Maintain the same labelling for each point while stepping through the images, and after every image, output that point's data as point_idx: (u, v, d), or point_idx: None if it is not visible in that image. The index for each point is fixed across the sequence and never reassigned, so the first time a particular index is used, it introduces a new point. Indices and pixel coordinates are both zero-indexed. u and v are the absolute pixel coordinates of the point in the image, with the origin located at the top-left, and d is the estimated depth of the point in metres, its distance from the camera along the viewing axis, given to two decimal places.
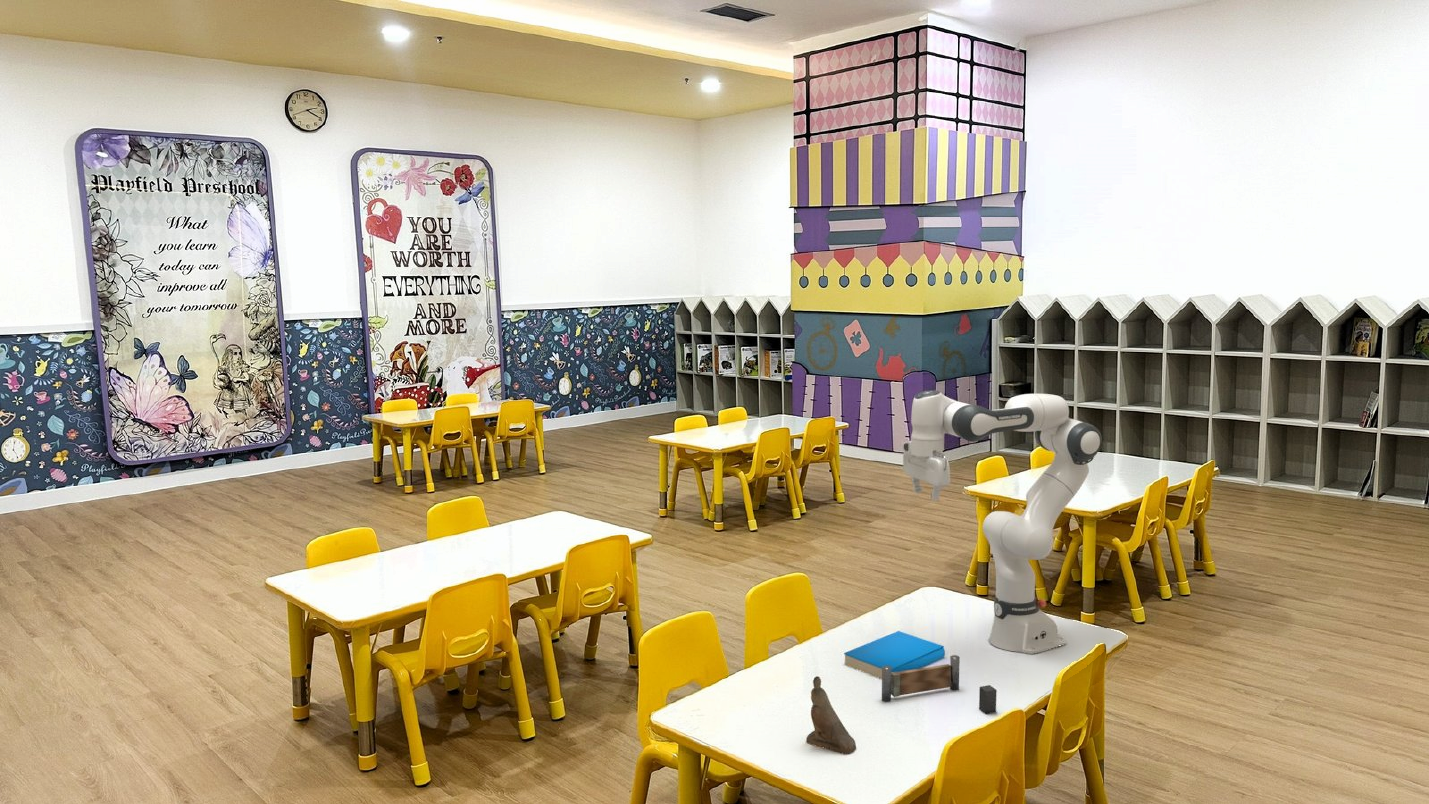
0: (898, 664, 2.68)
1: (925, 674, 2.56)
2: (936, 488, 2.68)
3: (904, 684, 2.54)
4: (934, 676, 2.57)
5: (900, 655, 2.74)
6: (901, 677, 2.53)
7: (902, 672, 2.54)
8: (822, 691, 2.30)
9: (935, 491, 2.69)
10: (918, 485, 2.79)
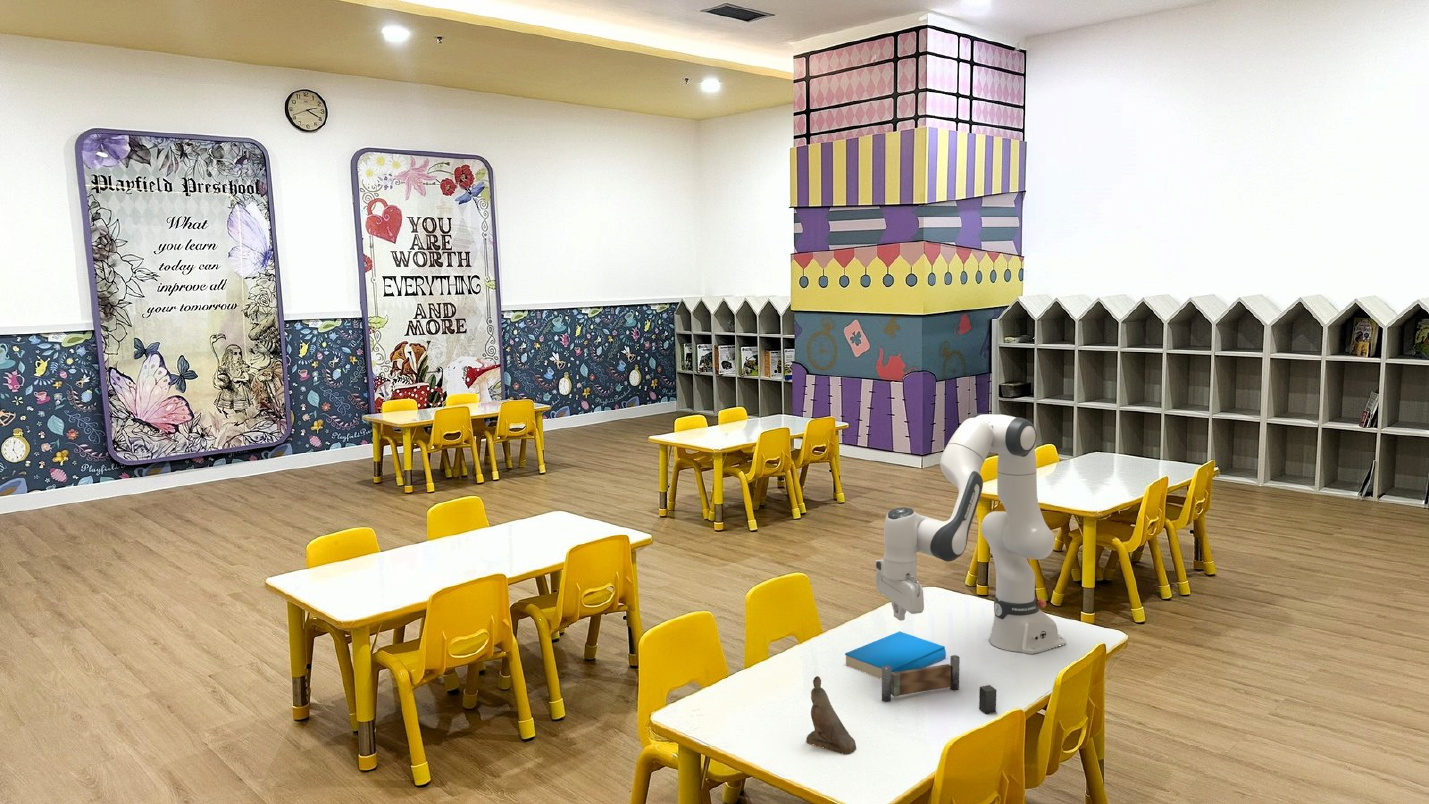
0: (899, 664, 2.67)
1: (925, 674, 2.56)
2: (901, 609, 2.57)
3: (904, 684, 2.54)
4: (934, 676, 2.57)
5: (901, 656, 2.73)
6: (901, 677, 2.53)
7: (902, 672, 2.54)
8: (822, 691, 2.30)
9: (901, 611, 2.57)
10: (898, 610, 2.60)
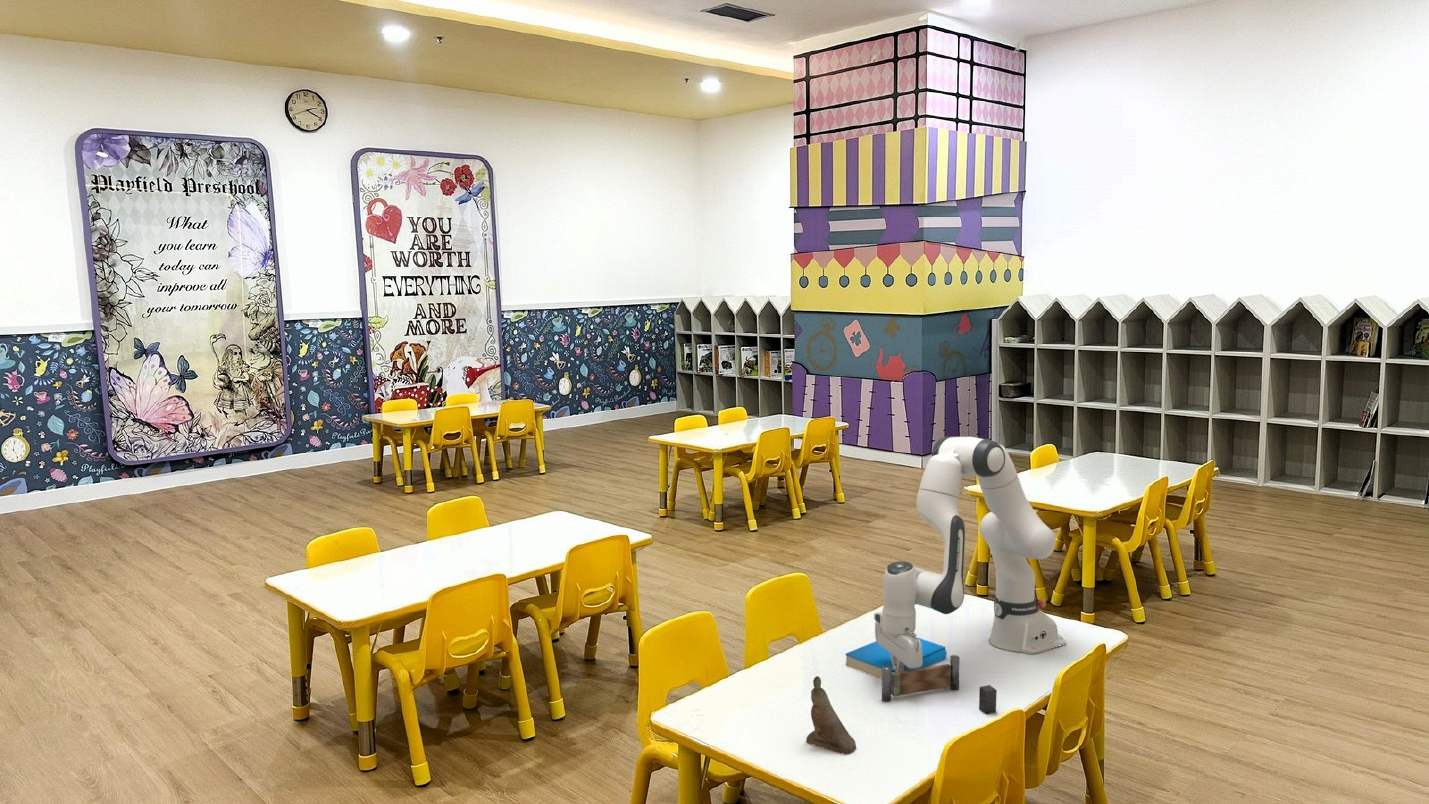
0: None
1: (925, 674, 2.56)
2: (900, 662, 2.59)
3: (904, 684, 2.54)
4: (934, 676, 2.57)
5: None
6: (901, 677, 2.53)
7: (902, 672, 2.54)
8: (822, 691, 2.30)
9: (900, 665, 2.59)
10: (897, 663, 2.63)
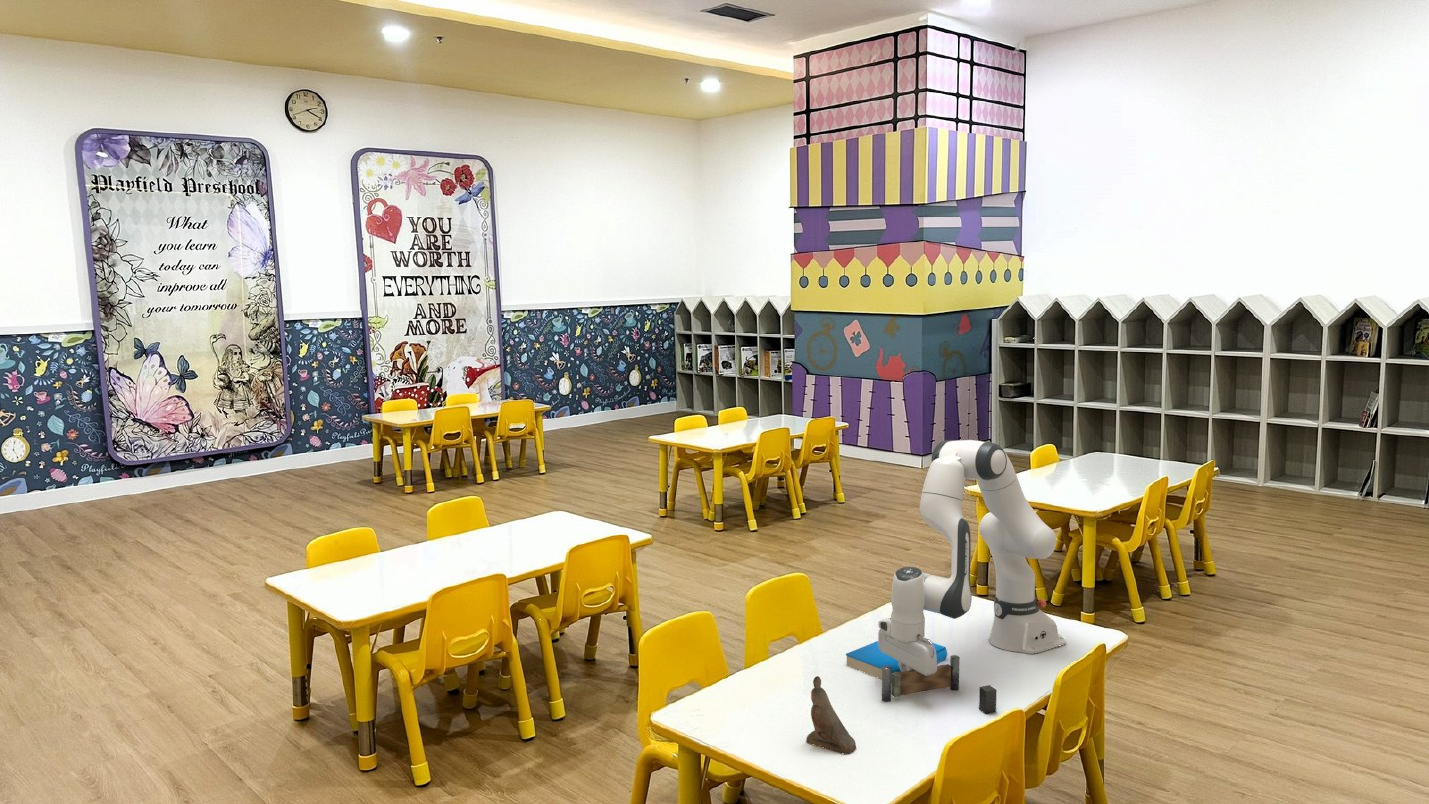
0: None
1: None
2: (910, 669, 2.55)
3: (905, 684, 2.54)
4: (934, 676, 2.56)
5: None
6: (902, 677, 2.53)
7: (903, 672, 2.54)
8: (822, 691, 2.30)
9: None
10: (906, 670, 2.58)
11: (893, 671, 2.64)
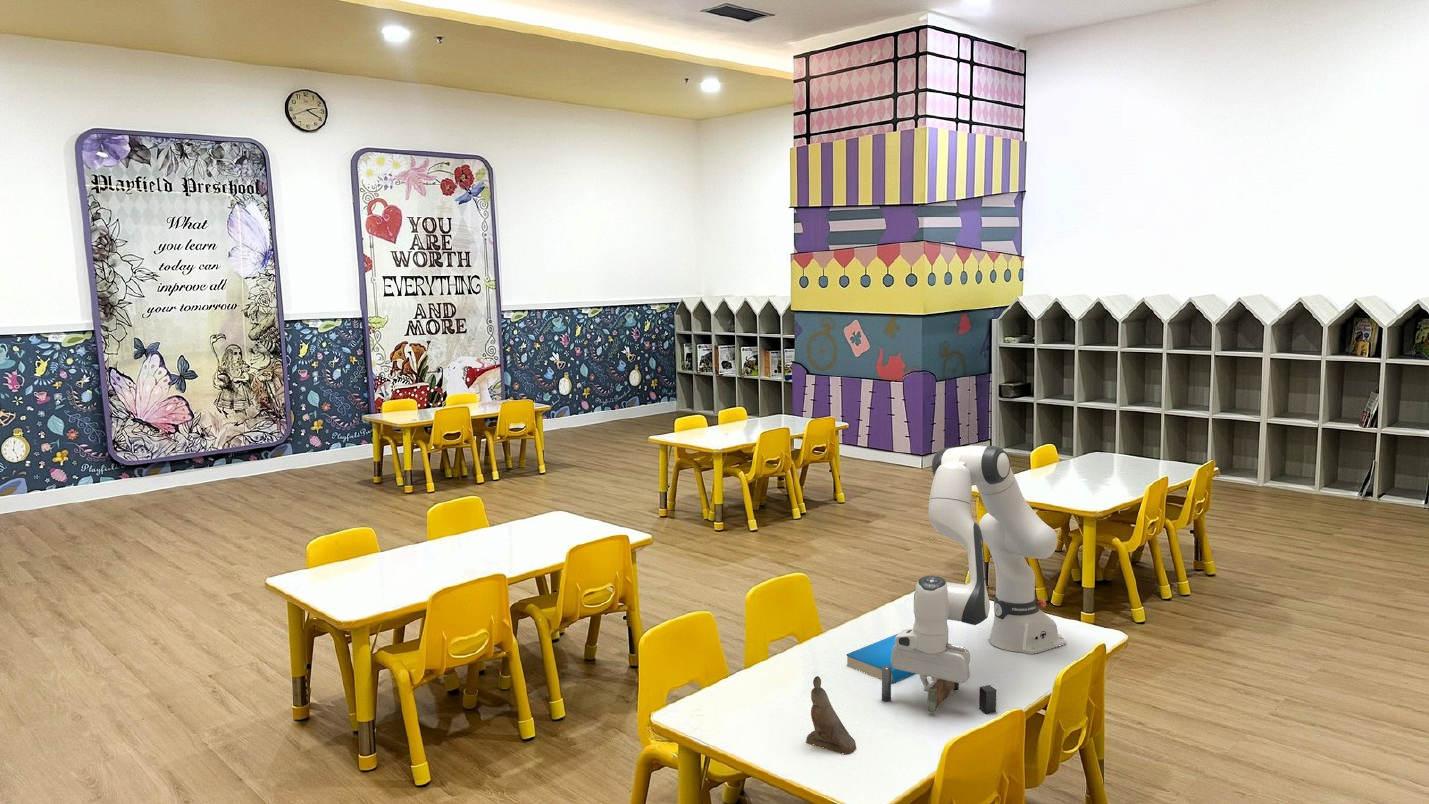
0: None
1: (945, 681, 2.51)
2: (936, 680, 2.48)
3: (937, 697, 2.46)
4: (949, 681, 2.53)
5: None
6: (936, 691, 2.45)
7: (935, 686, 2.45)
8: (822, 691, 2.30)
9: None
10: (927, 683, 2.50)
11: (894, 671, 2.64)
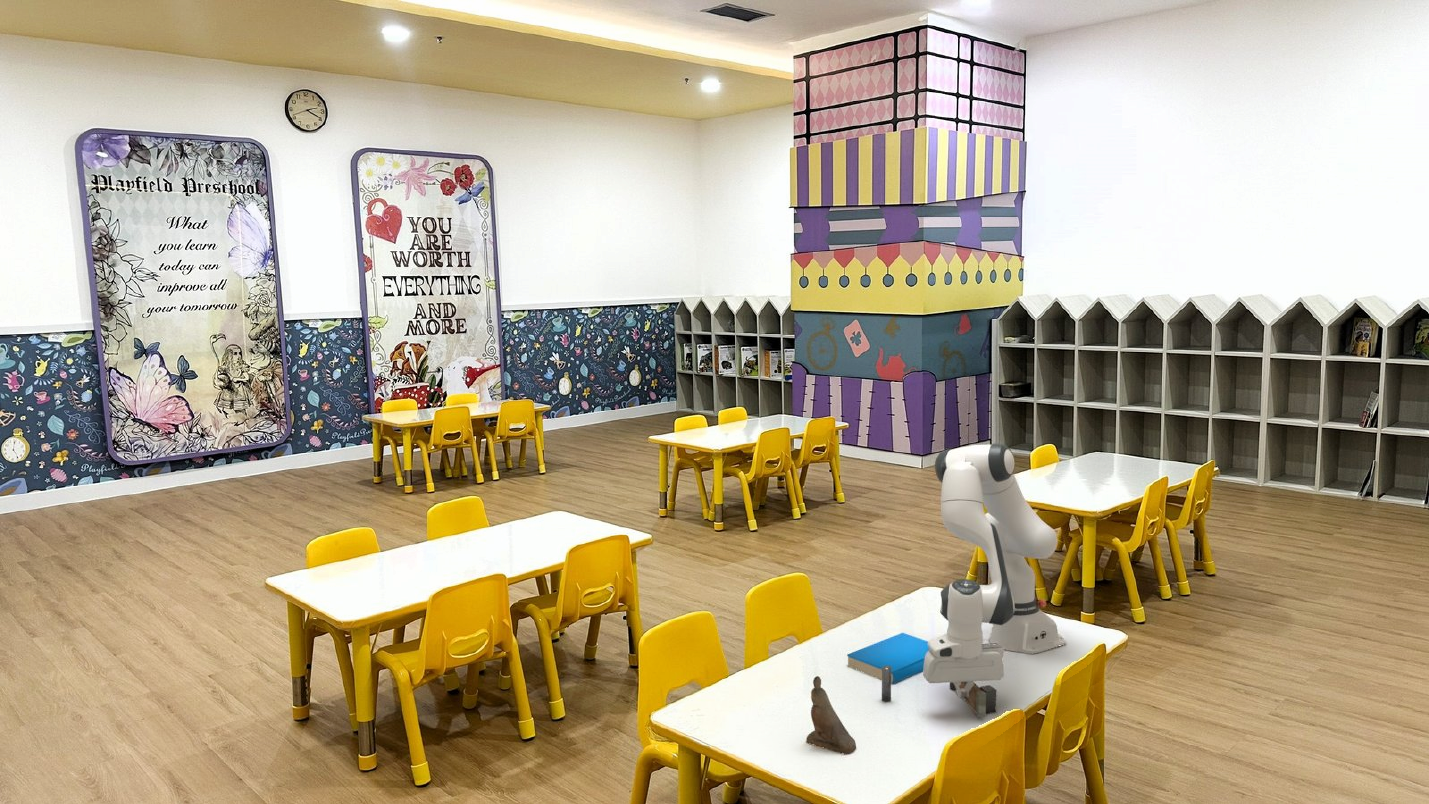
0: (901, 666, 2.66)
1: None
2: None
3: None
4: None
5: (903, 657, 2.72)
6: None
7: (978, 689, 2.43)
8: (822, 691, 2.30)
9: None
10: None
11: (894, 672, 2.64)
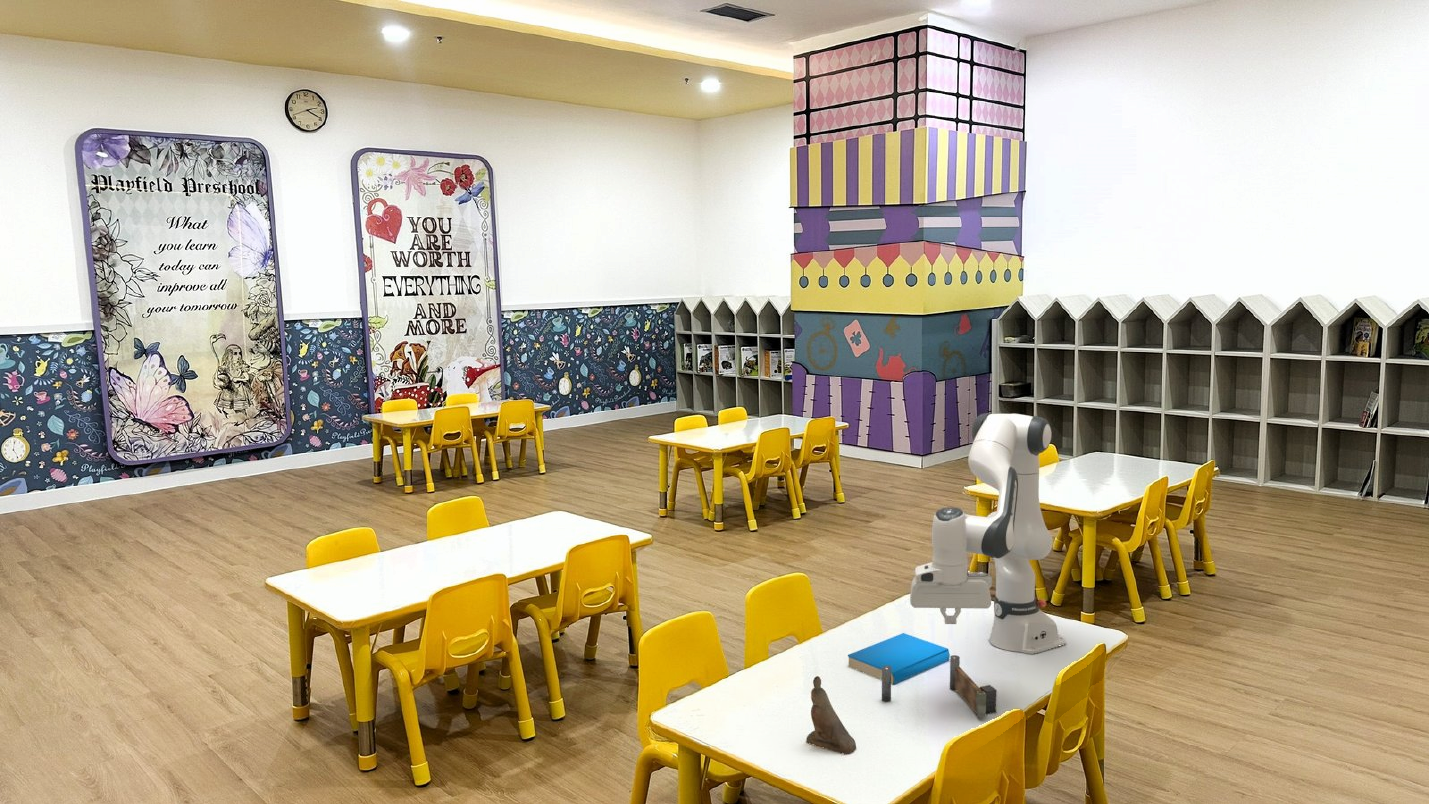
0: (902, 667, 2.66)
1: None
2: (960, 611, 2.47)
3: None
4: None
5: (904, 658, 2.72)
6: None
7: (978, 689, 2.43)
8: (822, 691, 2.30)
9: None
10: (946, 615, 2.49)
11: (895, 673, 2.63)
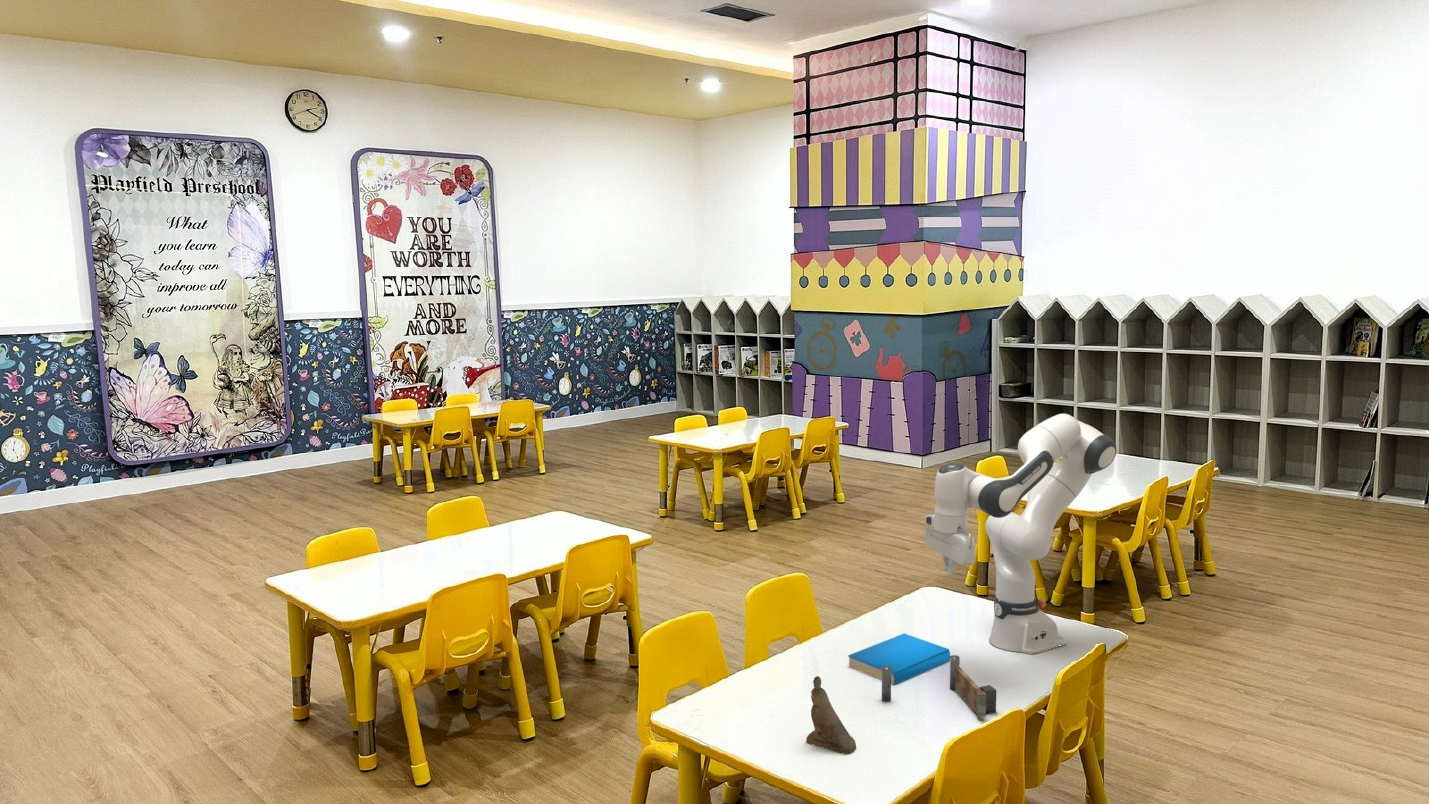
0: (902, 667, 2.66)
1: None
2: (952, 561, 2.63)
3: None
4: None
5: (904, 658, 2.72)
6: None
7: (978, 689, 2.43)
8: (822, 691, 2.30)
9: (951, 564, 2.64)
10: (949, 563, 2.67)
11: (895, 673, 2.63)
